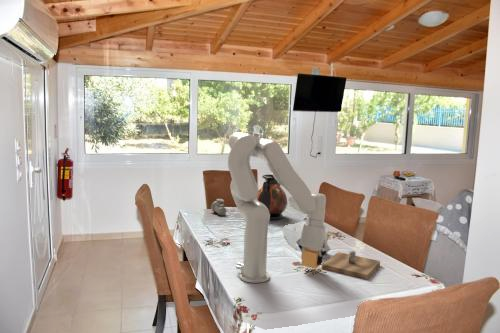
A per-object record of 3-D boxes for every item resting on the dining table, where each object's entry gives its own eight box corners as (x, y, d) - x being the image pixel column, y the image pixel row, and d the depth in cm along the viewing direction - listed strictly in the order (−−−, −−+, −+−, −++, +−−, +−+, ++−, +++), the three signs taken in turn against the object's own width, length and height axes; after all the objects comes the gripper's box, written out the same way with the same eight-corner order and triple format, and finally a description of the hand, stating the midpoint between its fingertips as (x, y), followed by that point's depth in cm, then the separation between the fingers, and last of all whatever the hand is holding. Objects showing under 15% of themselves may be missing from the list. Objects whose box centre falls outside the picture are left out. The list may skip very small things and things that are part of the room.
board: (321, 268, 175) (322, 253, 174) (338, 256, 192) (338, 242, 191) (367, 279, 164) (368, 263, 163) (379, 265, 181) (380, 250, 180)
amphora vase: (266, 212, 277) (267, 172, 273) (292, 217, 264) (294, 175, 261) (247, 217, 260) (249, 175, 256) (275, 223, 247) (277, 179, 244)
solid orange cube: (301, 265, 170) (302, 250, 169) (307, 261, 175) (308, 247, 175) (315, 268, 167) (316, 253, 166) (321, 264, 172) (322, 250, 171)
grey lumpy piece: (209, 211, 271) (211, 197, 269) (220, 211, 275) (222, 197, 273) (216, 217, 261) (218, 203, 259) (227, 217, 264) (229, 203, 263)
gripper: (292, 219, 170) (289, 259, 172) (330, 227, 161) (327, 270, 163) (300, 216, 177) (297, 255, 179) (337, 224, 167) (333, 265, 169)
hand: (311, 262), depth 171 cm, fingers closed on solid orange cube, 6 cm apart
